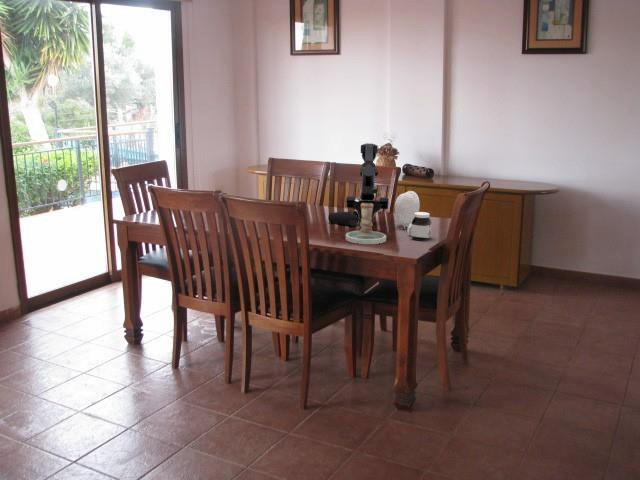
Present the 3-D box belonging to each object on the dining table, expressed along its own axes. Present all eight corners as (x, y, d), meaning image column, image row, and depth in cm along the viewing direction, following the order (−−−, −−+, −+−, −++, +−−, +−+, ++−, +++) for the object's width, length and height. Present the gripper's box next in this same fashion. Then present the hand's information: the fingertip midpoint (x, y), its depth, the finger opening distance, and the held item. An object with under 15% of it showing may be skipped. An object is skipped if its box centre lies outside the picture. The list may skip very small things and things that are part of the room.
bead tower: (368, 230, 320) (369, 201, 317) (374, 232, 315) (375, 204, 312) (357, 231, 318) (358, 202, 315) (363, 233, 313) (364, 205, 310)
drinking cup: (336, 217, 355) (371, 219, 345) (330, 228, 351) (366, 230, 340) (331, 206, 350) (366, 208, 340) (325, 217, 346) (361, 219, 336)
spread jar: (423, 242, 315) (425, 216, 312) (400, 238, 321) (402, 213, 318) (434, 237, 325) (436, 212, 322) (412, 233, 331) (413, 209, 328)
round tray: (384, 235, 326) (384, 231, 326) (387, 244, 308) (387, 240, 308) (345, 234, 326) (345, 230, 326) (346, 243, 309) (346, 239, 308)
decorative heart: (410, 231, 334) (412, 196, 330) (389, 229, 339) (390, 193, 335) (422, 224, 350) (424, 190, 346) (402, 222, 354) (403, 188, 350)
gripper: (347, 178, 316) (345, 207, 308) (389, 179, 314) (388, 209, 306) (347, 192, 325) (345, 221, 317) (388, 194, 324) (387, 222, 316)
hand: (366, 218), depth 314 cm, fingers closed on bead tower, 5 cm apart
